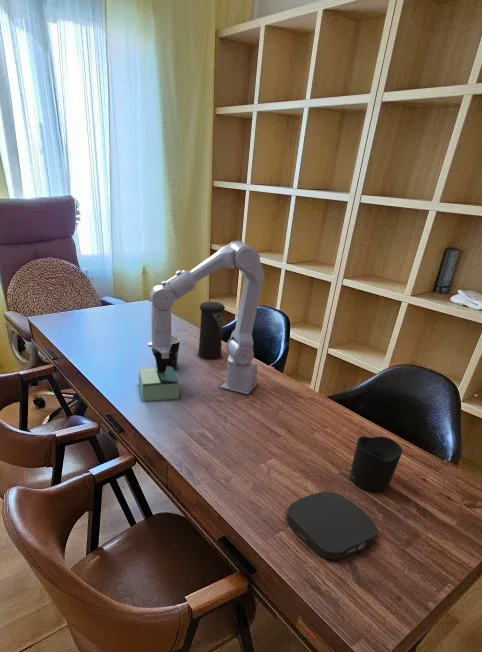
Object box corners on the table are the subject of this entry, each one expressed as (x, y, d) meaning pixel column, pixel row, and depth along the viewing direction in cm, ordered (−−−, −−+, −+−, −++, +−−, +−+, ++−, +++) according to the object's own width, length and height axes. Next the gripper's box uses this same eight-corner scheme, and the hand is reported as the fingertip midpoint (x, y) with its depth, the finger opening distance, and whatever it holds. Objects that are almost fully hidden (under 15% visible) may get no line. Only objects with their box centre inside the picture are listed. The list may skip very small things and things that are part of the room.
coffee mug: (168, 373, 146) (168, 346, 141) (150, 366, 150) (149, 339, 145) (189, 363, 154) (190, 337, 149) (171, 357, 158) (171, 331, 153)
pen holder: (357, 463, 105) (366, 429, 100) (395, 479, 100) (407, 445, 95) (341, 481, 99) (351, 446, 94) (381, 499, 94) (394, 463, 89)
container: (221, 360, 158) (225, 307, 147) (197, 359, 158) (199, 305, 147) (221, 351, 165) (224, 300, 155) (197, 350, 165) (200, 299, 155)
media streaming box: (331, 495, 95) (333, 485, 93) (383, 540, 84) (387, 529, 82) (278, 515, 88) (280, 505, 87) (327, 567, 77) (330, 555, 76)
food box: (172, 383, 140) (172, 366, 137) (178, 398, 131) (179, 381, 128) (139, 385, 137) (138, 368, 134) (143, 401, 128) (142, 384, 125)
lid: (172, 368, 137) (172, 366, 137) (178, 382, 128) (179, 381, 128) (156, 365, 135) (156, 364, 135) (161, 380, 126) (161, 379, 126)
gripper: (144, 321, 129) (145, 362, 136) (151, 337, 117) (151, 382, 124) (167, 320, 130) (167, 361, 137) (176, 336, 118) (175, 381, 125)
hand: (161, 371), depth 131 cm, fingers closed
